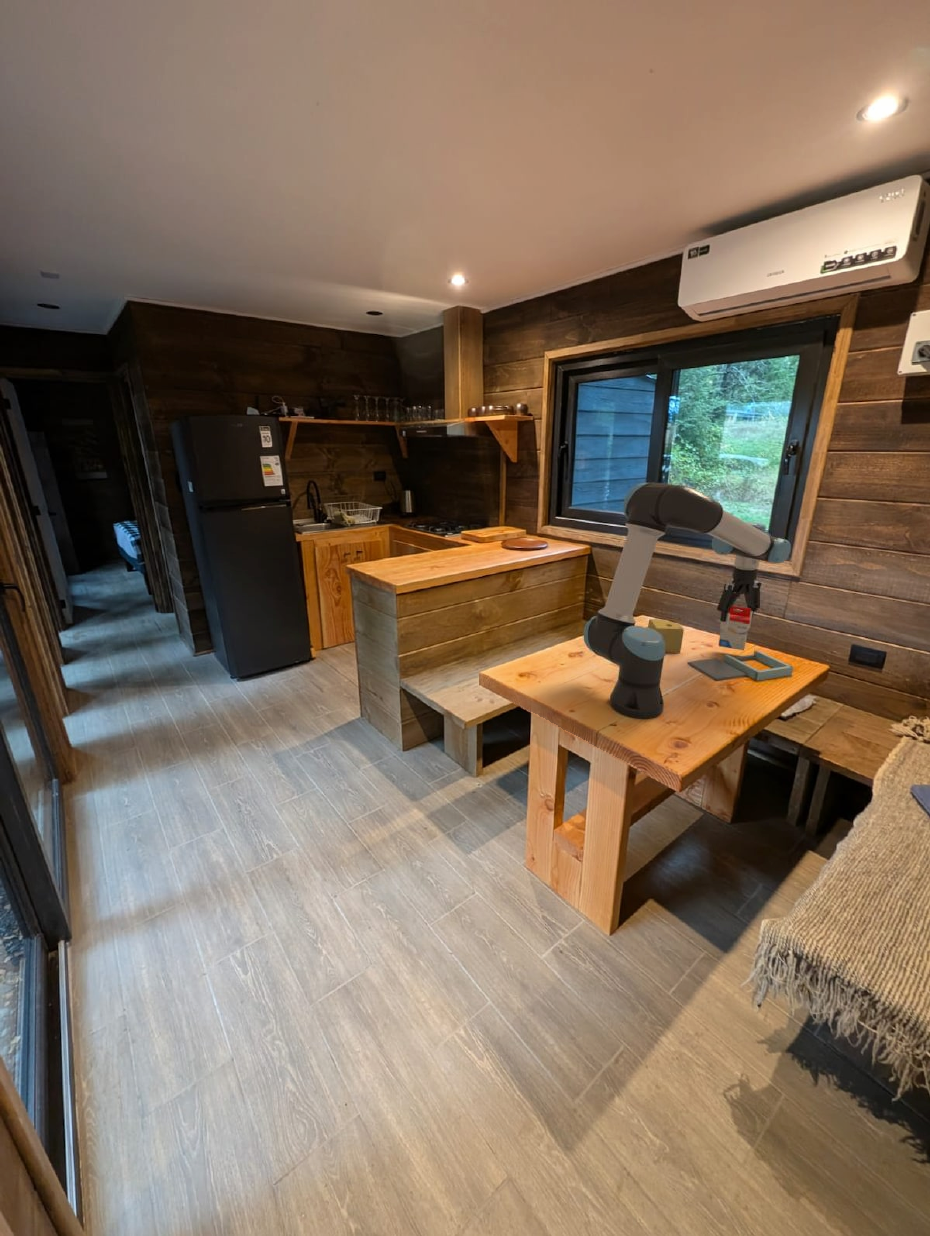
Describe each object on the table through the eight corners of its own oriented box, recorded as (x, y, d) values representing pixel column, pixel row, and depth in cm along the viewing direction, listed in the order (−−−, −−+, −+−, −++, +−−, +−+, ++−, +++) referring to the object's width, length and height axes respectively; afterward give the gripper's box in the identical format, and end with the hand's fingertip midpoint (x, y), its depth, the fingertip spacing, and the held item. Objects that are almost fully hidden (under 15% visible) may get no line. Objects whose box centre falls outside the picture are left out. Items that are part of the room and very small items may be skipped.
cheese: (673, 643, 196) (676, 619, 193) (681, 654, 186) (685, 628, 183) (645, 642, 197) (648, 618, 194) (652, 653, 187) (655, 628, 184)
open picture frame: (757, 680, 165) (758, 672, 164) (722, 662, 178) (724, 654, 177) (791, 675, 168) (793, 667, 167) (755, 657, 182) (757, 650, 181)
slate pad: (716, 680, 165) (716, 678, 164) (687, 663, 177) (687, 661, 177) (746, 676, 168) (746, 674, 168) (715, 659, 181) (716, 657, 180)
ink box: (718, 646, 183) (724, 608, 178) (718, 642, 187) (725, 604, 182) (744, 650, 179) (752, 612, 175) (744, 646, 183) (751, 608, 179)
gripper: (727, 572, 167) (717, 635, 175) (780, 567, 173) (767, 628, 180) (711, 567, 174) (702, 627, 182) (762, 563, 180) (751, 622, 187)
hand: (734, 628), depth 181 cm, fingers closed on ink box, 9 cm apart
